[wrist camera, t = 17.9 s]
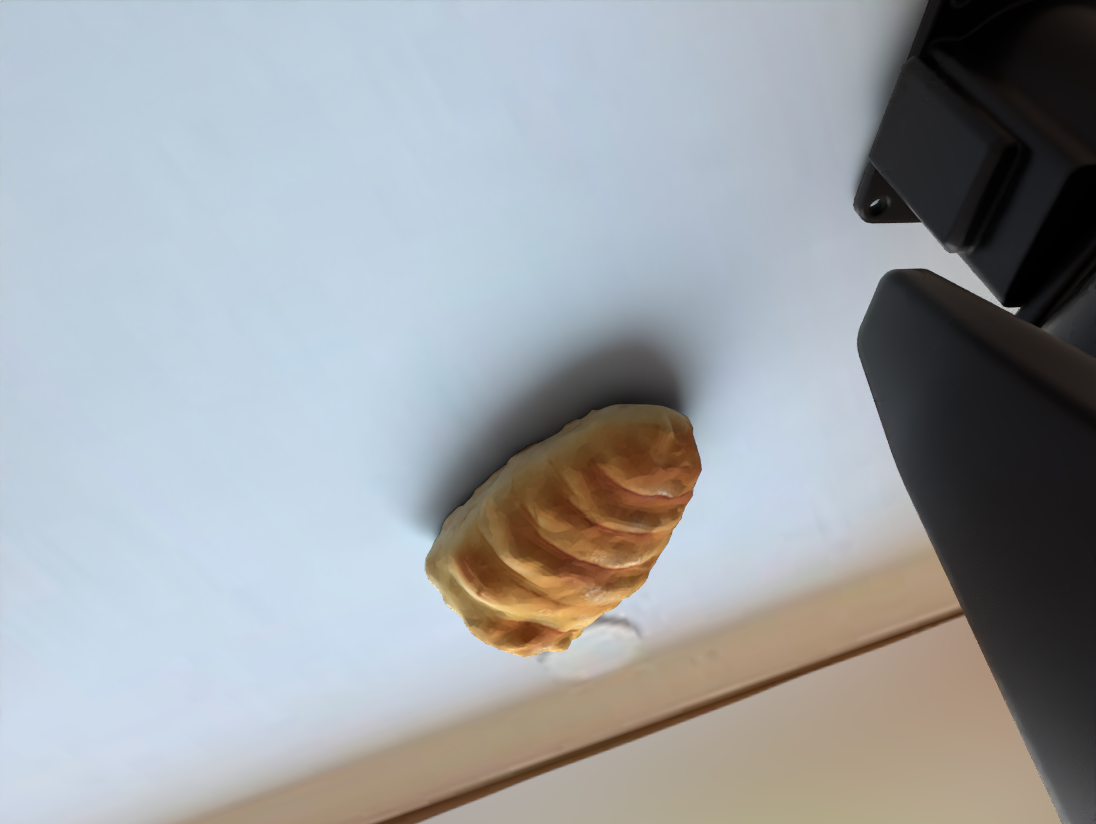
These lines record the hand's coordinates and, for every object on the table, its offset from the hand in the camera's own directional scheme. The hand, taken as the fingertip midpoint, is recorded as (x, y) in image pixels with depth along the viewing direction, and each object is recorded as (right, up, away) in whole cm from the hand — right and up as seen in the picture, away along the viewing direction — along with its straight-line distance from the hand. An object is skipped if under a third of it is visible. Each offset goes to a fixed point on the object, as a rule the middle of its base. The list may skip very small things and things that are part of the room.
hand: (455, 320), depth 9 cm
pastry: (+1, -4, +23) cm, 23 cm away
